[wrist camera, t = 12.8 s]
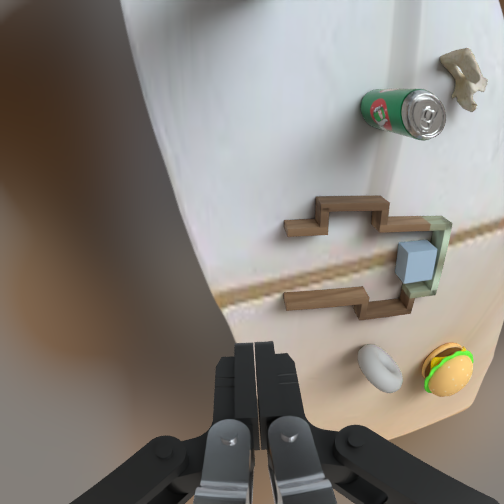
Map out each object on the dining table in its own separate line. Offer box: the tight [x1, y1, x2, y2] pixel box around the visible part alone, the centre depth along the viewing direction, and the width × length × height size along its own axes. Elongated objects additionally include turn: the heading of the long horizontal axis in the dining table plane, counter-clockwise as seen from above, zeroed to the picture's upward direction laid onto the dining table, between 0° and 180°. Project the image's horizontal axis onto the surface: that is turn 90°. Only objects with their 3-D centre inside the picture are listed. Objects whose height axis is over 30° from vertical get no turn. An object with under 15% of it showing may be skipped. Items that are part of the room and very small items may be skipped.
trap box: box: [284, 196, 452, 320], centre depth 42 cm, size 18×24×3 cm
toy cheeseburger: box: [422, 343, 473, 397], centre depth 52 cm, size 12×12×9 cm
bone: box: [440, 48, 488, 112], centre depth 29 cm, size 9×6×10 cm
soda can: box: [361, 89, 446, 140], centre depth 29 cm, size 5×5×12 cm
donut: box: [358, 344, 403, 393], centre depth 48 cm, size 10×4×10 cm, turn 54°
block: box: [395, 240, 437, 284], centre depth 43 cm, size 5×5×4 cm
